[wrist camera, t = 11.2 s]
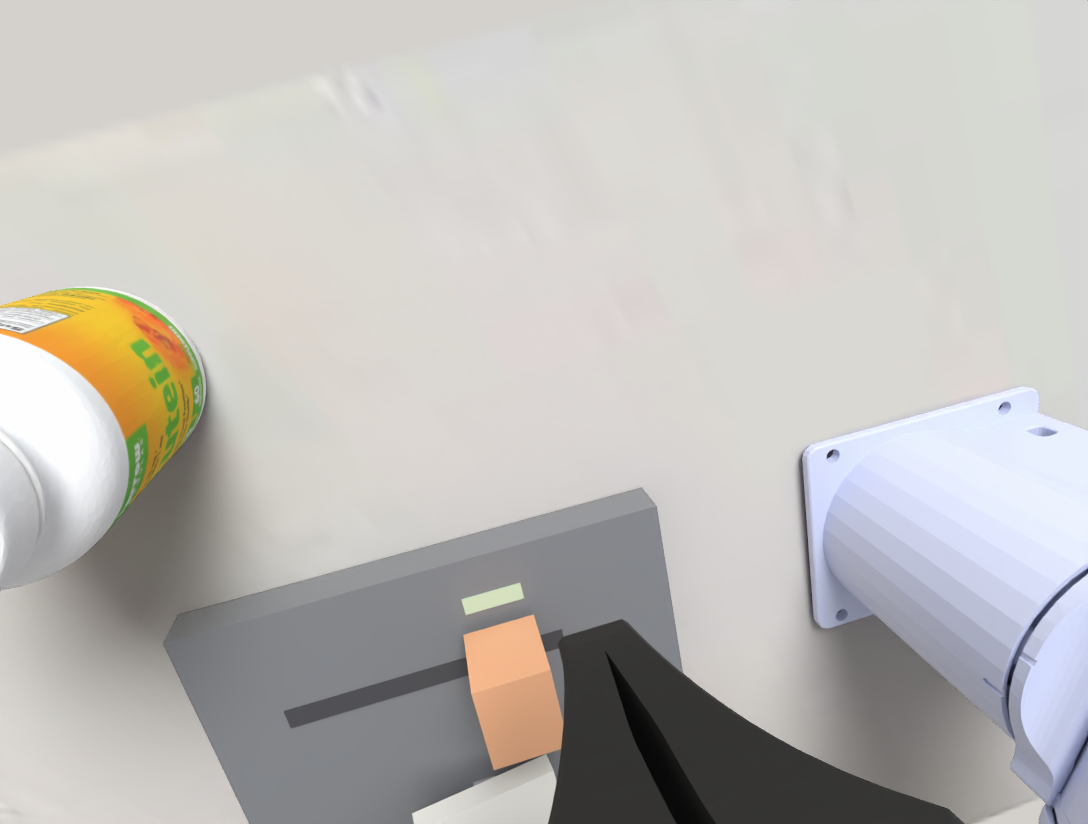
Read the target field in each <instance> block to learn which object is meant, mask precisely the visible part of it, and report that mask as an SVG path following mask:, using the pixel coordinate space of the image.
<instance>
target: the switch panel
mask: <svg viewBox="0 0 1088 824" xmlns="http://www.w3.org/2000/svg"><path fill="white" fill-rule="evenodd" d="M533 614H534V617H535V620H536V624H537V627H538V630H539V633H540V637H541V640H542V643H543V646H544V650H545V653H546V656H547V659H548V663H549V666H550V669H551V673H552V677H553V682H554V686H555V690H556V694H557V698H558V702H559V706H560V711H561V715H562V719H563V723H564V672H563V664H562V660H561V655H560V651H559V647H558V642H559V641H560V639H561V638H562V637H564V636H567V635H570V634H574V633H577V632H580V631H584V630H587V629H590V628H594V627H597V626H600V625H603V624H607V623H610V622H613V621H617V620H620V619H623V620H625V621H626V622H628V623H629V624H630V625H631V626H632V627H633V628H634V629H635V630H636V631H637V632H638V633H639V634H640V635H641V636H642V637H643V638H644V639H645V640H646V641H647V642H648V643H649V644H650V645H651V646H652V647H653V648H654V649H655V650H656V651H658V652H659V653H660V654H661V655H662V656H663V657H664V658H665V659H666V660H668V661H669V662H670V663H671V664H672V665H673V666H675V667H676V668H677V669H678V670H680V671H681V672H682V673H683V671H682V664H681V658H680V652H679V645H678V639H677V633H676V626H675V620H674V614H673V607H672V601H671V595H670V588H669V582H668V575H667V569H666V563H665V556H664V550H663V544H662V537H661V531H660V525H659V518H658V512H657V506H656V505H655V503H654V502H653V501H652V500H651V498H650V497H649V496H648V495H647V493H646V492H645V491H644V490H643V488H639V489H635V490H631V491H628V492H624V493H620V494H617V495H613V496H609V497H606V498H602V499H599V500H595V501H591V502H588V503H584V504H580V505H577V506H573V507H569V508H566V509H562V510H558V511H555V512H551V513H548V514H544V515H540V516H537V517H533V518H529V519H526V520H522V521H518V522H515V523H511V524H508V525H504V526H500V527H497V528H493V529H489V530H486V531H482V532H478V533H475V534H471V535H468V536H464V537H460V538H457V539H453V540H449V541H446V542H442V543H438V544H435V545H431V546H428V547H424V548H420V549H417V550H413V551H409V552H406V553H402V554H398V555H395V556H391V557H387V558H384V559H380V560H377V561H373V562H369V563H366V564H362V565H358V566H355V567H351V568H347V569H344V570H340V571H337V572H333V573H329V574H326V575H322V576H318V577H315V578H311V579H307V580H304V581H300V582H297V583H293V584H289V585H286V586H282V587H278V588H275V589H271V590H267V591H264V592H260V593H257V594H253V595H249V596H246V597H242V598H238V599H235V600H231V601H227V602H224V603H220V604H216V605H213V606H209V607H206V608H202V609H198V610H195V611H191V612H187V613H184V614H180V615H178V616H177V618H176V620H175V622H174V624H173V626H172V628H171V630H170V631H169V633H168V635H167V637H166V639H165V641H164V643H163V645H164V647H165V649H166V651H167V653H168V655H169V657H170V659H171V661H172V663H173V666H174V668H175V670H176V672H177V674H178V676H179V678H180V680H181V682H182V684H183V686H184V688H185V691H186V693H187V695H188V697H189V699H190V701H191V703H192V705H193V707H194V709H195V711H196V714H197V716H198V718H199V720H200V722H201V724H202V726H203V728H204V730H205V732H206V734H207V736H208V739H209V741H210V743H211V745H212V747H213V749H214V751H215V753H216V755H217V757H218V759H219V761H220V764H221V766H222V768H223V770H224V772H225V774H226V776H227V778H228V780H229V782H230V784H231V787H232V789H233V791H234V793H235V795H236V797H237V799H238V801H239V803H240V805H241V807H242V809H243V812H244V814H245V816H246V818H247V820H248V822H249V824H414V822H413V816H412V813H414V812H417V811H419V810H421V809H423V808H426V807H428V806H430V805H432V804H435V803H437V802H439V801H441V800H444V799H446V798H448V797H450V796H453V795H455V794H457V793H459V792H462V791H464V790H466V789H468V788H471V787H473V786H475V785H477V784H480V783H482V782H484V781H486V780H489V779H491V778H493V777H495V776H498V775H500V774H502V773H505V772H507V771H509V770H511V769H514V768H516V767H518V766H520V765H523V764H525V763H527V762H529V761H532V760H534V759H536V758H538V757H541V756H543V755H540V756H537V757H534V758H531V759H528V760H525V761H522V762H518V763H515V764H512V765H509V766H506V767H503V768H500V769H496V770H494V769H493V766H492V762H491V759H490V756H489V752H488V749H487V745H486V742H485V739H484V735H483V732H482V729H481V725H480V722H479V718H478V715H477V712H476V708H475V705H474V702H473V698H472V695H471V689H470V681H469V674H468V666H467V659H466V651H465V644H464V637H463V635H465V634H468V633H472V632H475V631H478V630H482V629H485V628H489V627H492V626H496V625H499V624H502V623H506V622H509V621H513V620H516V619H519V618H523V617H526V616H530V615H533ZM560 754H561V749H559V750H556V751H553V752H550V753H547V754H546V755H547V757H548V759H549V761H550V764H551V766H552V768H553V770H554V774H555V778H556V782H557V776H558V769H559V763H560ZM544 755H545V754H544Z"/></svg>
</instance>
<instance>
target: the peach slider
mask: <svg viewBox="0 0 1088 824" xmlns="http://www.w3.org/2000/svg"><path fill="white" fill-rule="evenodd" d="M463 637H464V644H465V651H466V659H467V666H468V674H469V681H470V689H471V695H472V698H473V702H474V705H475V708H476V712H477V715H478V718H479V722H480V725H481V729H482V732H483V735H484V739H485V742H486V745H487V749H488V752H489V756H490V759H491V762H492V766H493V769H494V770H496V769H500V768H503V767H506V766H509V765H512V764H515V763H518V762H522V761H525V760H528V759H531V758H534V757H537V756H540V755H544V754H547V753H550V752H553V751H556V750H559V749H561V744H562V734H563V719H562V715H561V711H560V706H559V702H558V698H557V694H556V690H555V686H554V682H553V677H552V673H551V669H550V666H549V663H548V659H547V656H546V653H545V650H544V646H543V643H542V640H541V637H540V633H539V630H538V627H537V624H536V620H535V617H534V614H533V615H530V616H526V617H523V618H519V619H516V620H513V621H509V622H506V623H502V624H499V625H496V626H492V627H489V628H485V629H482V630H478V631H475V632H472V633H468V634H465V635H463Z"/></svg>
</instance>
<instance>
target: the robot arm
mask: <svg viewBox="0 0 1088 824" xmlns="http://www.w3.org/2000/svg"><path fill="white" fill-rule="evenodd" d="M1001 404H1002V407H1001V408H1000V409H999V406H1000V405H1001ZM1038 407H1039V395H1038V392H1037V391H1036V390H1034V389H1032V388H1029V387H1026V386H1024V387H1018V388H1014V389H1011V390H1007V391H1004V392H1000V393H996V394H993V395H989V396H985V397H982V398H978V399H975V400H971V401H967V402H964V403H960V404H956V405H953V406H949V407H946V408H942V409H938V410H935V411H931V412H927V413H924V414H920V415H916V416H913V417H909V418H906V419H902V420H898V421H895V422H891V423H887V424H884V425H880V426H877V427H873V428H869V429H866V430H862V431H858V432H855V433H851V434H848V435H844V436H840V437H837V438H833V439H829V440H826V441H822V442H818V443H815V444H812V445H810V446H809V447H808V448H807V449H806V450H805V452H804V454H803V458H802V462H803V476H804V490H805V504H806V518H807V531H808V545H809V559H810V573H811V587H812V601H813V615H814V620H815V621H816V622H817V624H818V625H819V626H820V627H822V628H825V629H828V628H833V627H836V626H839V625H842V624H845V623H849V622H852V621H855V620H858V619H861V618H865V617H868V616H871V615H874V614H875V615H876V616H877V617H878V618H879V619H880V620H881V621H882V622H883V623H885V624H886V625H887V626H888V627H889V628H890V629H891V630H892V631H893V632H894V633H896V634H897V635H898V636H899V637H900V638H901V639H902V640H903V641H904V642H906V643H907V644H908V645H909V646H910V647H911V648H912V649H913V650H914V651H915V652H917V653H918V654H919V655H920V656H921V657H922V658H923V659H924V660H925V661H926V662H928V663H929V664H930V665H931V666H932V667H933V668H934V669H935V670H936V671H938V672H939V673H940V674H941V675H942V676H943V677H944V678H945V679H946V680H947V681H949V682H950V683H951V684H952V685H953V686H954V687H955V688H956V689H957V690H959V691H960V692H961V693H962V694H963V695H964V696H965V697H966V698H967V699H968V700H970V701H971V702H972V703H973V704H974V705H975V706H976V707H977V708H978V709H979V710H981V711H982V712H983V713H984V714H985V715H986V716H987V717H988V718H989V719H991V720H992V721H993V722H994V723H995V724H996V725H997V726H998V727H999V728H1000V729H1002V730H1003V731H1004V732H1005V733H1006V734H1007V735H1008V736H1009V737H1010V738H1012V739H1013V740H1014V741H1015V742H1016V749H1015V754H1014V757H1013V760H1012V762H1011V765H1010V769H1011V770H1012V771H1013V772H1014V773H1015V774H1016V775H1017V776H1018V777H1019V778H1020V779H1021V780H1022V781H1023V782H1024V783H1025V784H1026V785H1027V786H1028V787H1029V788H1030V789H1032V790H1033V791H1034V792H1035V793H1036V794H1037V795H1038V796H1039V797H1040V798H1041V799H1042V800H1043V801H1044V802H1045V803H1046V804H1045V805H1044V807H1043V808H1042V811H1041V814H1040V817H1039V824H1088V431H1087V430H1085V429H1082V428H1079V427H1076V426H1073V425H1071V424H1068V423H1065V422H1062V421H1059V420H1056V419H1054V418H1051V417H1048V416H1045V415H1042V414H1040V413H1038ZM831 450H833V454H832V455H831V457H829V458H828V459H826V457H827V454H828V452H829V451H831ZM840 610H841V611H840ZM838 611H840V613H839V614H837V612H838ZM836 614H837V615H836ZM558 647H559V651H560V655H561V660H562V664H563V672H564V723H563V734H562V744H561V754H560V763H559V769H558V776H557V782H556V788H555V793H554V798H553V804H552V809H551V813H550V817H549V821H548V824H964V823H963V822H962V821H961V820H960V819H959V818H958V817H957V816H956V815H955V814H954V813H952V812H951V811H950V810H949V809H947V808H944V807H941V806H938V805H935V804H932V803H929V802H926V801H923V800H920V799H917V798H914V797H911V796H908V795H905V794H902V793H899V792H896V791H893V790H890V789H887V788H884V787H882V786H879V785H876V784H874V783H871V782H869V781H866V780H864V779H861V778H859V777H856V776H854V775H852V774H849V773H847V772H844V771H842V770H840V769H838V768H836V767H833V766H831V765H829V764H827V763H825V762H823V761H821V760H819V759H817V758H815V757H813V756H810V755H808V754H806V753H804V752H802V751H800V750H798V749H796V748H794V747H792V746H791V745H789V744H787V743H785V742H783V741H782V740H780V739H778V738H776V737H774V736H773V735H771V734H769V733H768V732H766V731H764V730H763V729H761V728H759V727H758V726H756V725H754V724H753V723H751V722H749V721H748V720H746V719H745V718H743V717H742V716H740V715H739V714H737V713H736V712H734V711H733V710H731V709H730V708H728V707H727V706H725V705H724V704H723V703H721V702H720V701H718V700H717V699H716V698H714V697H713V696H711V695H710V694H709V693H707V692H706V691H705V690H703V689H702V688H701V687H699V686H698V685H697V684H696V683H694V682H693V681H692V680H691V679H689V678H688V677H687V676H686V675H684V674H683V673H682V672H681V671H680V670H678V669H677V668H676V667H675V666H673V665H672V664H671V663H670V662H669V661H668V660H666V659H665V658H664V657H663V656H662V655H661V654H660V653H659V652H658V651H656V650H655V649H654V648H653V647H652V646H651V645H650V644H649V643H648V642H647V641H646V640H645V639H644V638H643V637H642V636H641V635H640V634H639V633H638V632H637V631H636V630H635V629H634V628H633V627H632V626H631V625H630V624H629V623H628V622H626V621H625V620H623V619H620V620H617V621H613V622H610V623H607V624H603V625H600V626H597V627H594V628H590V629H587V630H584V631H580V632H577V633H574V634H570V635H567V636H564V637H562V638H561V639H560V641H559V642H558Z"/></svg>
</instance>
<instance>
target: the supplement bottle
mask: <svg viewBox="0 0 1088 824" xmlns="http://www.w3.org/2000/svg"><path fill="white" fill-rule="evenodd" d="M205 397H206V379H205V373H204V368H203V364H202V361H201V359H200V356H199V354H198V352H197V350H196V348H195V346H194V344H193V342H192V341H191V339H190V338H189V336H188V335H187V334H186V332H185V331H184V330H183V329H182V328H181V327H180V325H179V324H178V323H177V322H176V321H175V320H174V319H172V318H171V317H170V316H169V315H168V314H167V313H165V312H164V311H163V310H161V309H160V308H158V307H157V306H155V305H153V304H152V303H150V302H148V301H146V300H144V299H142V298H139V297H137V296H135V295H132V294H129V293H126V292H122V291H119V290H114V289H108V288H102V287H71V288H65V289H60V290H55V291H50V292H46V293H43V294H39V295H36V296H32V297H29V298H26V299H22V300H19V301H15V302H12V303H8V304H5V305H2V306H0V591H1V590H3V589H9V588H14V587H19V586H22V585H26V584H29V583H32V582H35V581H37V580H40V579H43V578H45V577H48V576H50V575H52V574H54V573H55V572H57V571H59V570H61V569H63V568H65V567H66V566H68V565H70V564H72V563H73V562H74V561H76V560H77V559H79V558H80V557H81V556H83V555H84V554H85V553H86V552H87V551H88V550H89V549H91V548H92V547H93V546H94V545H95V544H96V543H97V542H98V541H99V540H100V539H101V538H102V537H103V536H104V535H105V534H106V532H107V531H108V530H109V529H110V528H111V527H112V526H113V524H114V523H115V522H116V521H117V520H118V518H119V517H120V516H121V515H122V514H123V512H124V511H125V510H126V509H127V508H128V506H129V505H130V504H131V503H132V502H133V501H134V500H135V498H136V497H137V496H138V495H139V494H140V492H141V491H142V490H144V488H145V487H146V486H147V485H148V484H149V483H150V482H151V480H152V479H153V478H154V477H155V475H156V474H157V473H158V472H159V471H160V469H161V468H162V467H163V466H164V465H165V464H166V463H167V462H168V461H169V459H170V458H171V457H172V456H173V455H174V454H175V453H176V451H177V450H178V449H179V448H180V447H181V446H182V445H183V444H184V442H185V441H186V440H187V438H188V437H189V436H190V434H191V433H192V432H193V430H194V429H195V427H196V425H197V423H198V421H199V419H200V417H201V414H202V411H203V408H204V403H205Z"/></svg>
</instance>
